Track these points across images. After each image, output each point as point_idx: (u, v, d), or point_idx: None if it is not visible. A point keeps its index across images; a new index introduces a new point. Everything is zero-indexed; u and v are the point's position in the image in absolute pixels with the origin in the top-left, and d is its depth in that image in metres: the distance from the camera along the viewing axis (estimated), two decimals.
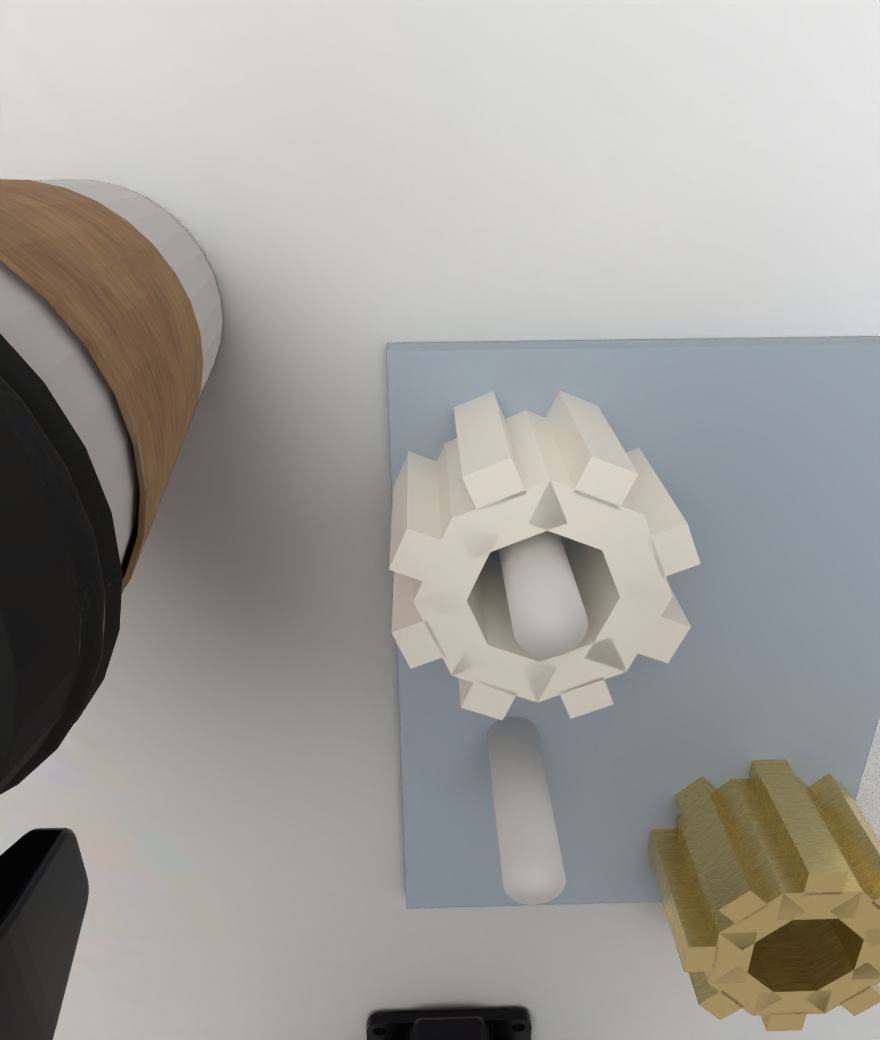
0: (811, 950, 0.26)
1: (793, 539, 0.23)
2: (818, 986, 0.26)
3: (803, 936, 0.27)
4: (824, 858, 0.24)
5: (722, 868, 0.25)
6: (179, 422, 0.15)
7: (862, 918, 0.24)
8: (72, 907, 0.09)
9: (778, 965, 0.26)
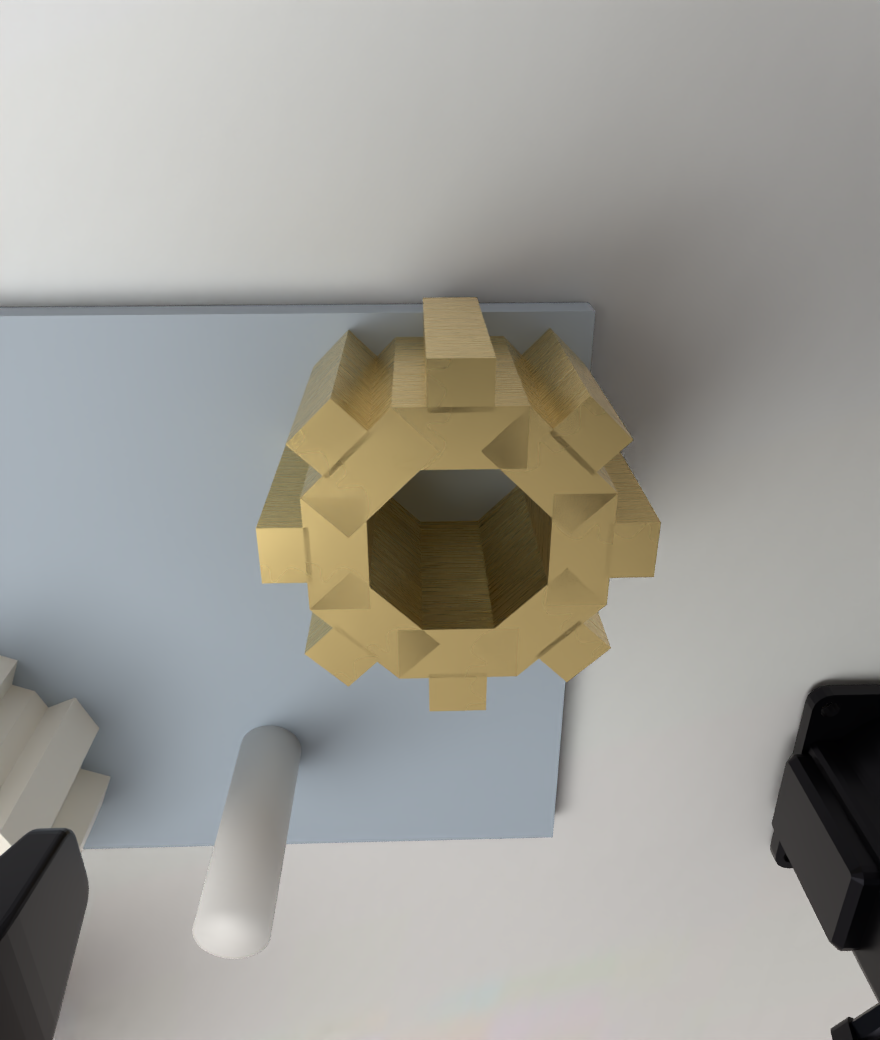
0: None
1: None
2: (547, 511, 0.15)
3: None
4: None
5: None
6: None
7: (366, 484, 0.14)
8: (72, 907, 0.09)
9: (542, 538, 0.16)
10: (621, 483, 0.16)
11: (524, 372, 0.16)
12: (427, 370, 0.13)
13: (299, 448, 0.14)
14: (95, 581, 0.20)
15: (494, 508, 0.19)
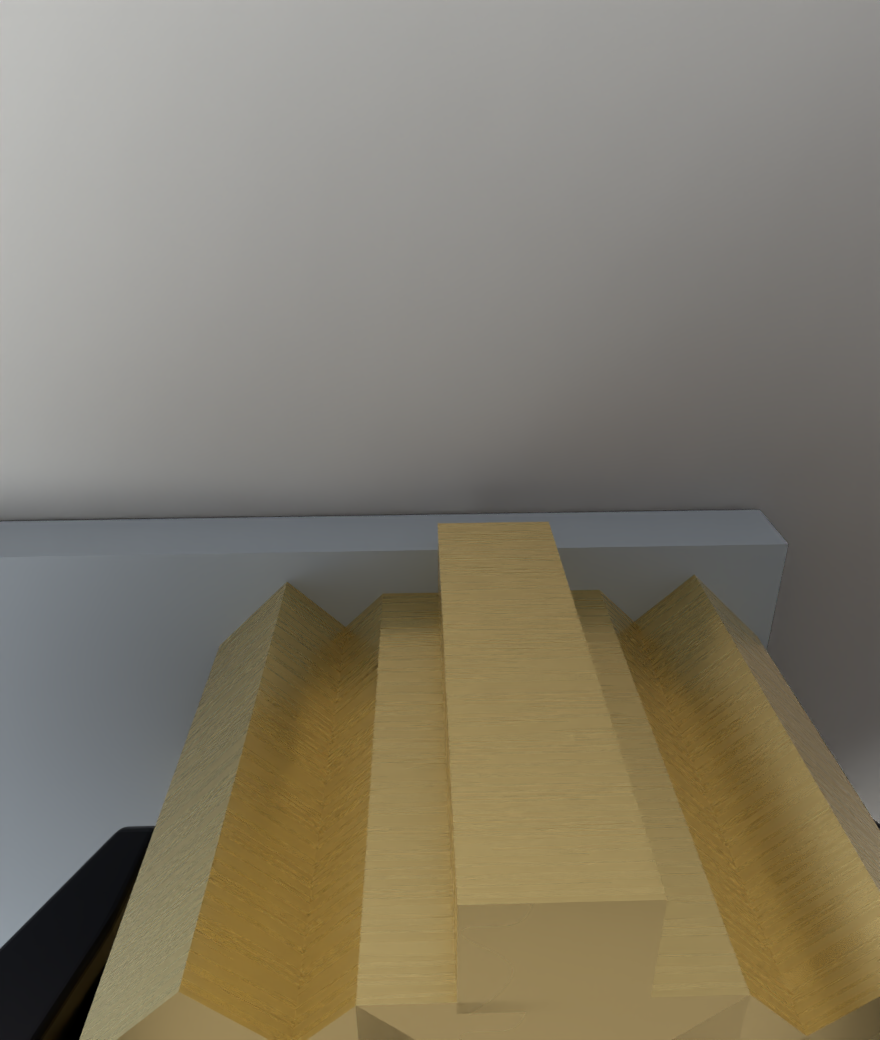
0: None
1: None
2: None
3: None
4: None
5: None
6: None
7: None
8: None
9: None
10: None
11: (666, 725, 0.07)
12: (460, 930, 0.04)
13: None
14: None
15: None
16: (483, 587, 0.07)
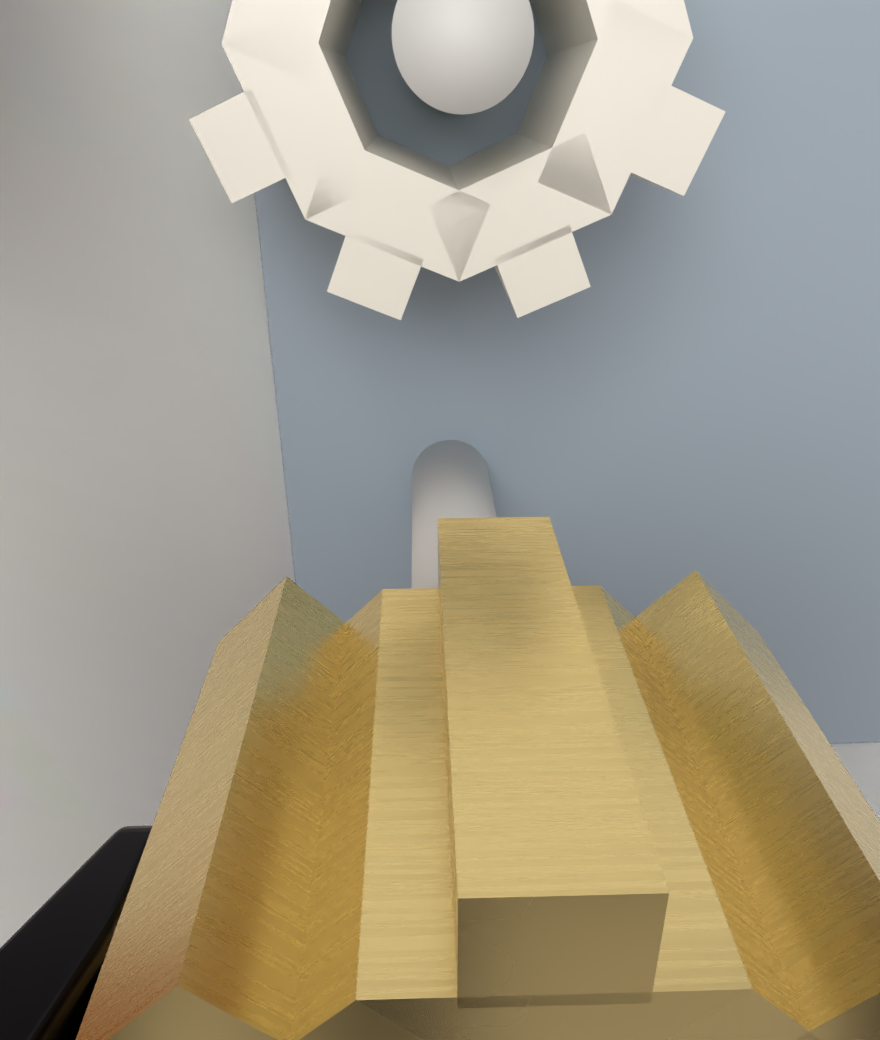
0: None
1: (877, 113, 0.15)
2: None
3: None
4: None
5: None
6: None
7: None
8: None
9: None
10: None
11: (667, 720, 0.07)
12: (461, 923, 0.04)
13: None
14: (719, 296, 0.16)
15: None
16: (483, 582, 0.07)
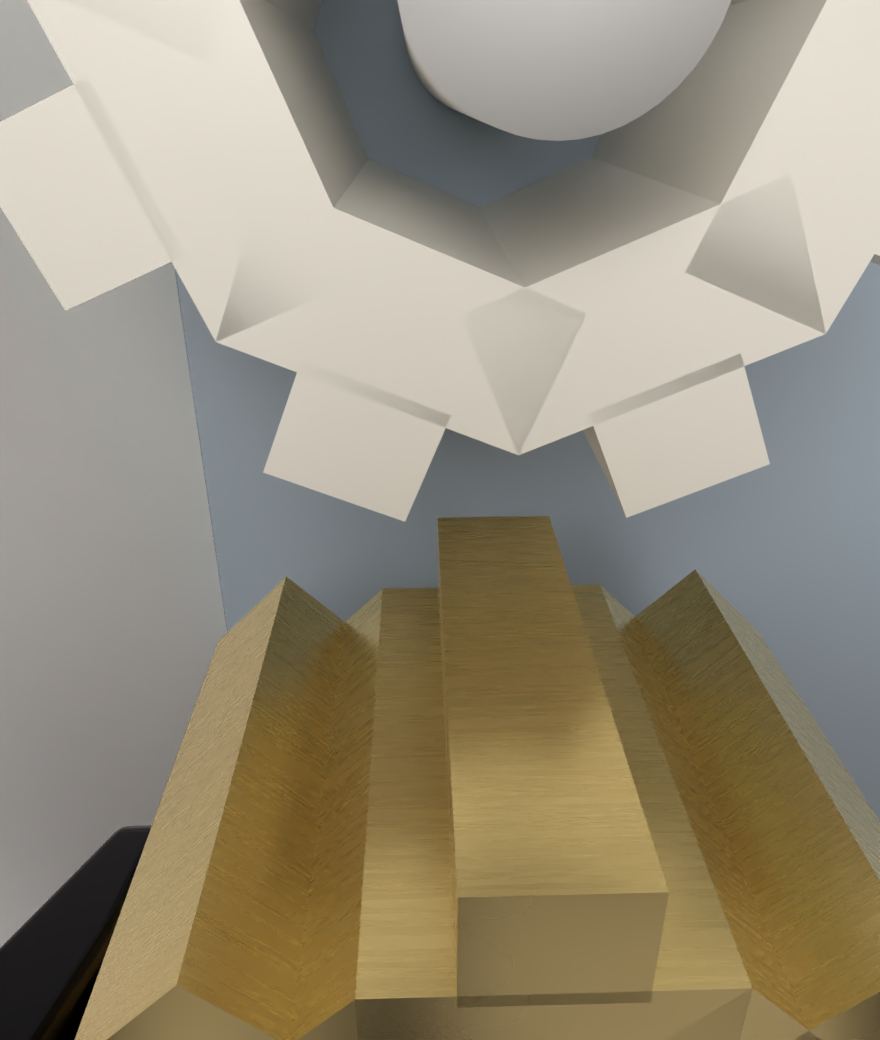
0: None
1: None
2: None
3: None
4: None
5: None
6: None
7: None
8: None
9: None
10: None
11: (667, 719, 0.07)
12: (460, 923, 0.04)
13: None
14: None
15: None
16: (483, 581, 0.07)
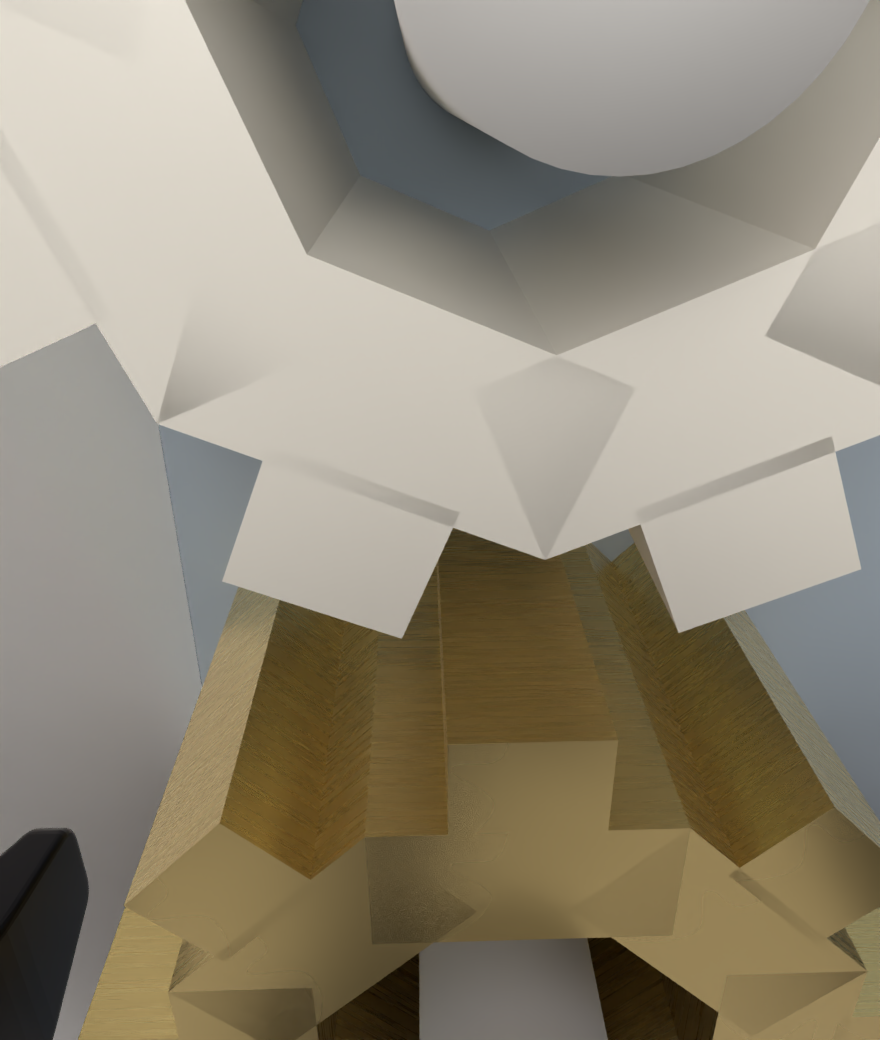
0: None
1: None
2: (706, 995, 0.07)
3: None
4: None
5: None
6: None
7: (313, 967, 0.06)
8: (72, 907, 0.09)
9: None
10: None
11: (634, 640, 0.08)
12: (450, 767, 0.06)
13: (156, 914, 0.06)
14: None
15: None
16: None
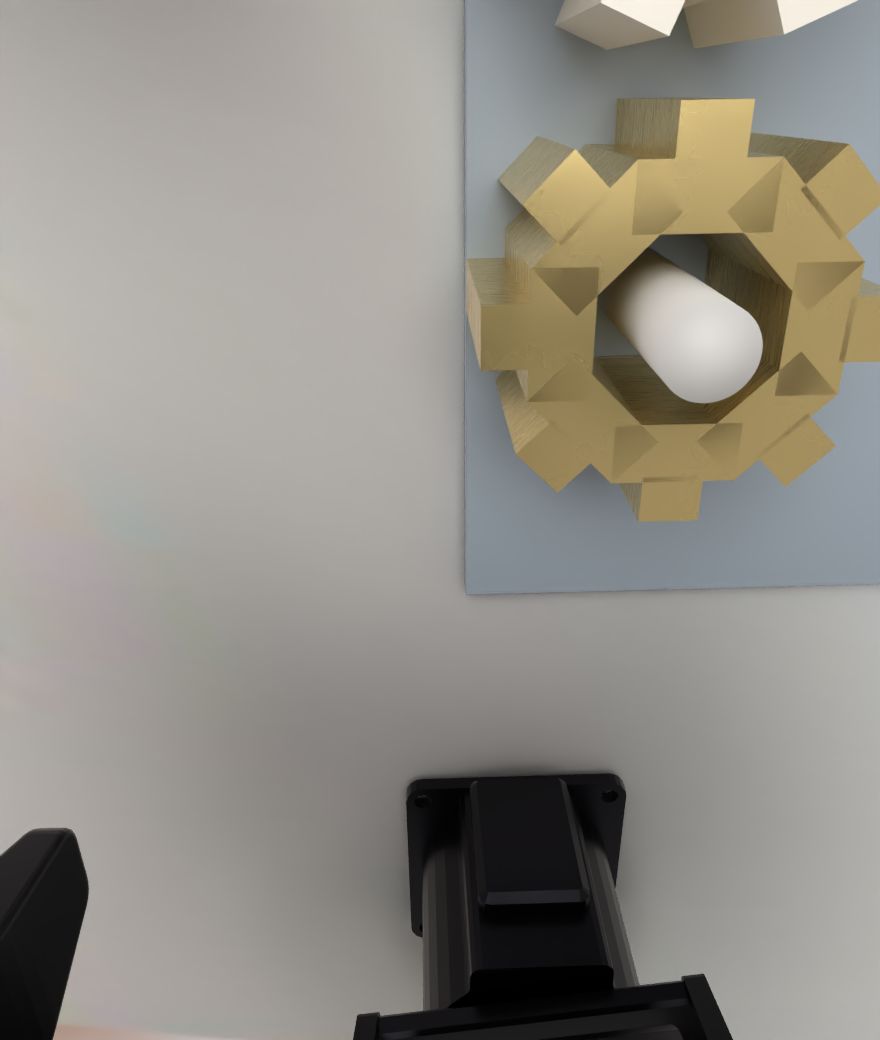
0: (753, 262, 0.15)
1: None
2: (785, 285, 0.14)
3: (744, 259, 0.15)
4: (478, 327, 0.14)
5: None
6: None
7: (601, 251, 0.13)
8: (72, 907, 0.09)
9: (764, 330, 0.15)
10: None
11: None
12: (680, 114, 0.13)
13: (537, 208, 0.13)
14: None
15: None
16: (652, 98, 0.15)
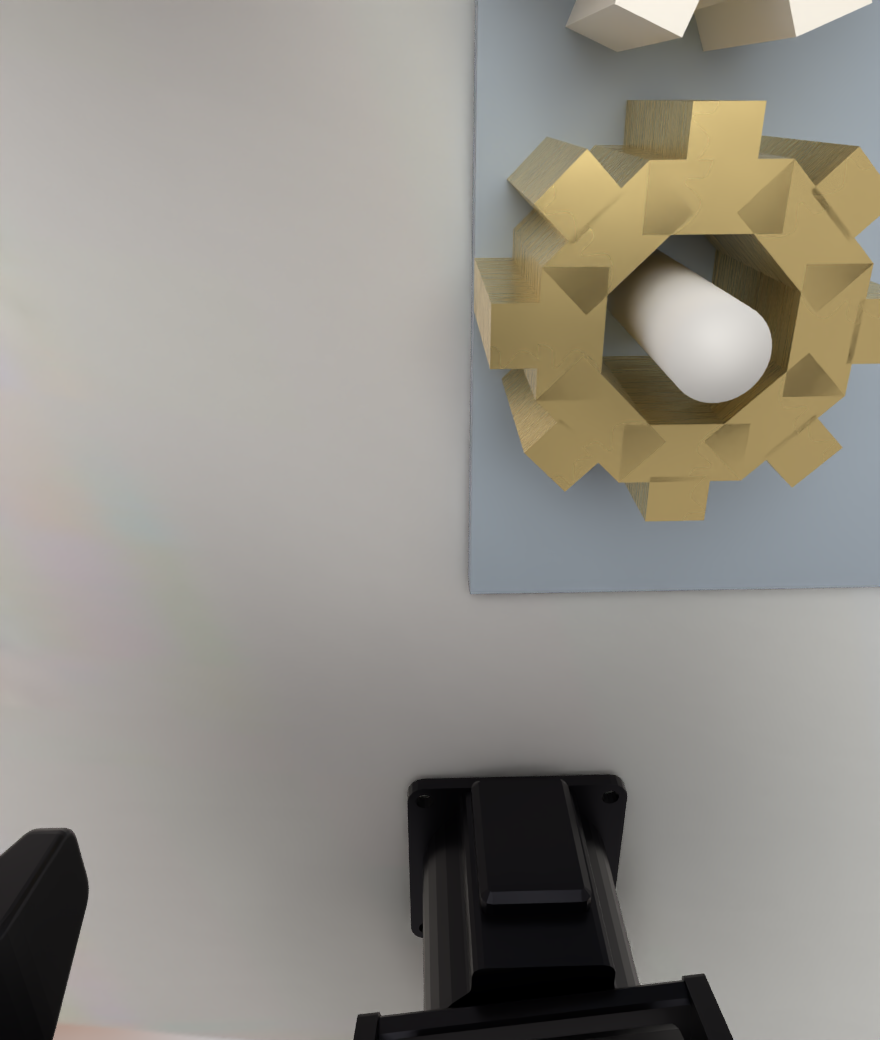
0: (762, 264, 0.15)
1: None
2: (794, 286, 0.14)
3: (753, 260, 0.15)
4: (488, 326, 0.14)
5: None
6: None
7: (612, 251, 0.13)
8: (72, 907, 0.09)
9: (772, 331, 0.15)
10: None
11: None
12: (692, 115, 0.13)
13: (548, 208, 0.13)
14: None
15: None
16: None
